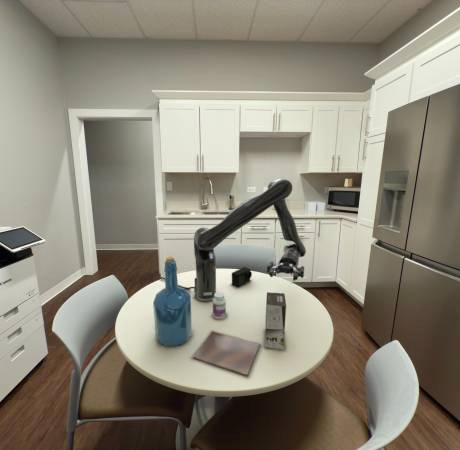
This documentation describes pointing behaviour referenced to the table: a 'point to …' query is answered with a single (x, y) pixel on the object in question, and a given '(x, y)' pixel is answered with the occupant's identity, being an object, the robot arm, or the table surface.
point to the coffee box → (275, 320)
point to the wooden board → (228, 353)
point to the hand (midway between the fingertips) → (282, 276)
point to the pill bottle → (219, 305)
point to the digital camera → (241, 277)
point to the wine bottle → (172, 309)
